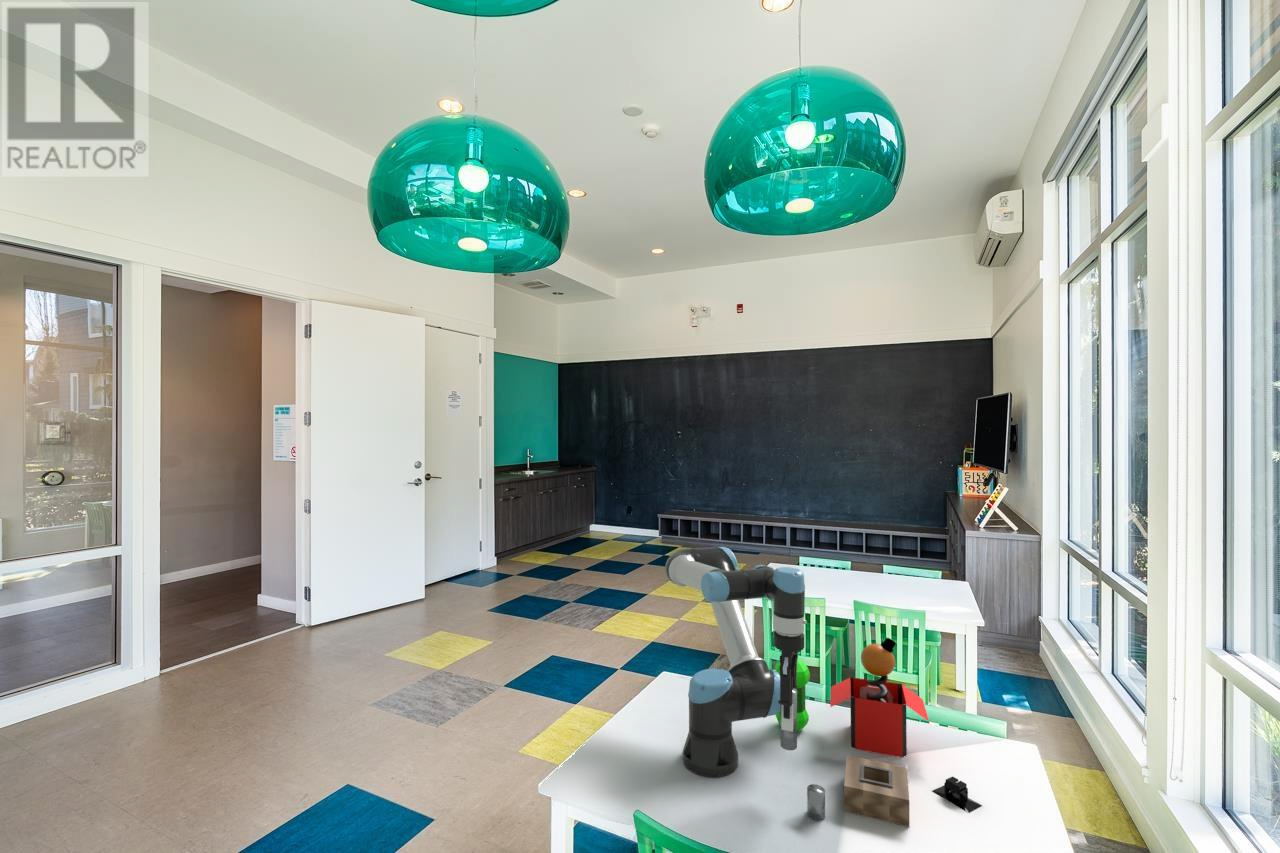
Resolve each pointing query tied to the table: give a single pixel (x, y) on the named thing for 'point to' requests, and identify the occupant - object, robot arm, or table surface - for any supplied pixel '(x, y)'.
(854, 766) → the hole block
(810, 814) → the short pin
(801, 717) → the plastic bottle
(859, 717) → the jack-in-the-box
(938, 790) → the black notched mounting plate
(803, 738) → the table surface
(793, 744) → the long pin
